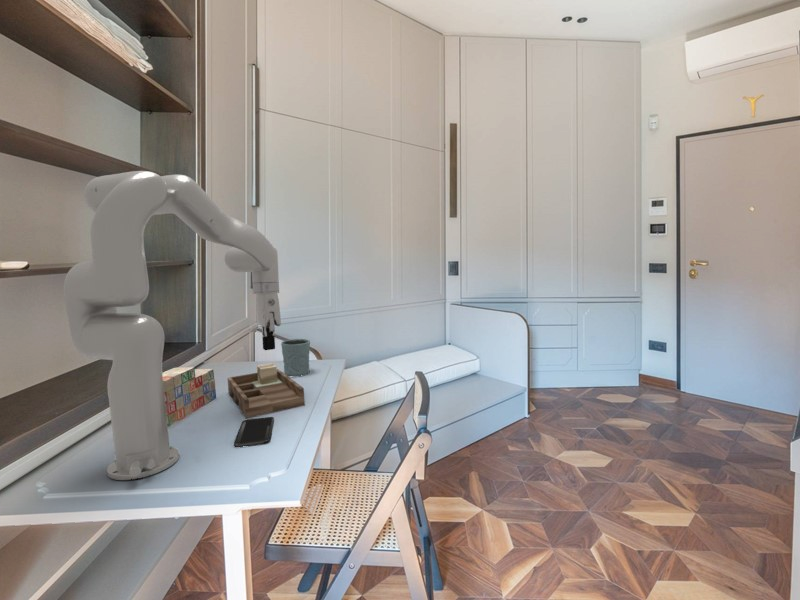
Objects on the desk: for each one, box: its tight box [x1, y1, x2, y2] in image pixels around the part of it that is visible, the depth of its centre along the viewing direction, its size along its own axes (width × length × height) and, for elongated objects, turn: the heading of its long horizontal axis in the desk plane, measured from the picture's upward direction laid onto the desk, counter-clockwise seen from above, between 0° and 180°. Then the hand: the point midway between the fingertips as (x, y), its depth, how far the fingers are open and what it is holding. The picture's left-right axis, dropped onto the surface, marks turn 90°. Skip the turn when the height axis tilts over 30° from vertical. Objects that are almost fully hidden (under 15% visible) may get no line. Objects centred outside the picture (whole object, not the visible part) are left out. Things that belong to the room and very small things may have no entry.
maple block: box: [256, 363, 278, 385], centre depth 134 cm, size 5×5×5 cm
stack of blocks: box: [162, 366, 217, 427], centre depth 117 cm, size 21×6×12 cm, turn 173°
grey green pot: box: [280, 338, 311, 377], centre depth 151 cm, size 10×10×12 cm
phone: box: [233, 416, 275, 448], centre depth 100 cm, size 8×1×15 cm
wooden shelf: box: [227, 368, 306, 419], centre depth 125 cm, size 26×16×5 cm, turn 32°
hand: (269, 349), depth 125 cm, fingers closed
